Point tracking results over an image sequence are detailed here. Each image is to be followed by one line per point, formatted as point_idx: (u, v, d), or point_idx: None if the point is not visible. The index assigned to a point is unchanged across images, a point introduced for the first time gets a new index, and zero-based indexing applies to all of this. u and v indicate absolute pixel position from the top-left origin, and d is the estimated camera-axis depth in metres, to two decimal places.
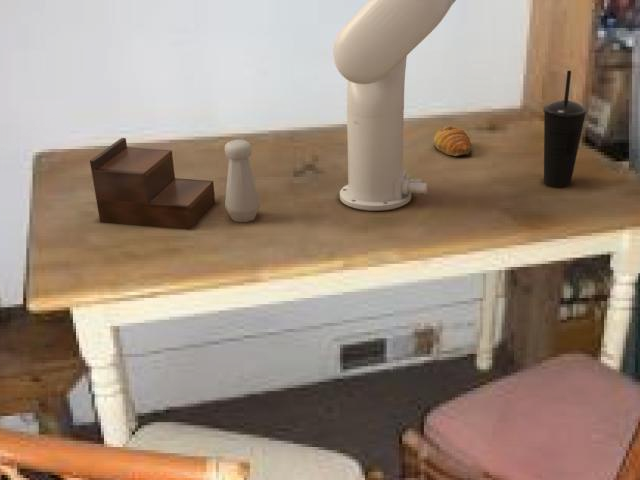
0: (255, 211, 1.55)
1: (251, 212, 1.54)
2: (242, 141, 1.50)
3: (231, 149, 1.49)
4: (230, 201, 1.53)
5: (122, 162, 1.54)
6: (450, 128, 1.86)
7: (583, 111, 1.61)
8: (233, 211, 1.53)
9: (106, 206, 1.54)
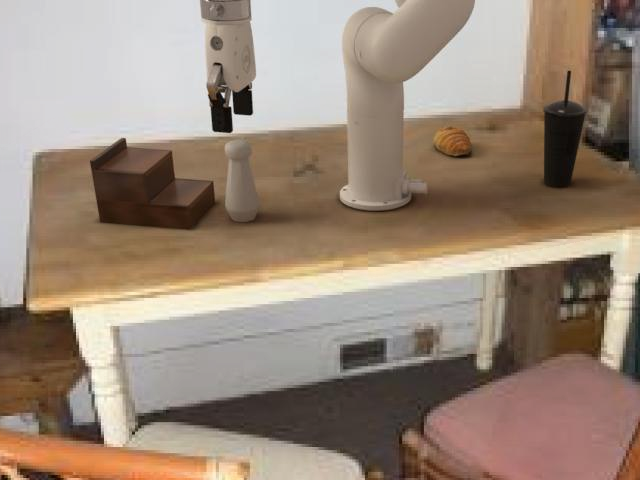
0: (255, 211, 1.55)
1: (251, 212, 1.54)
2: (242, 141, 1.50)
3: (231, 149, 1.49)
4: (230, 201, 1.53)
5: (122, 162, 1.54)
6: (450, 128, 1.86)
7: (583, 111, 1.61)
8: (233, 211, 1.53)
9: (106, 206, 1.54)
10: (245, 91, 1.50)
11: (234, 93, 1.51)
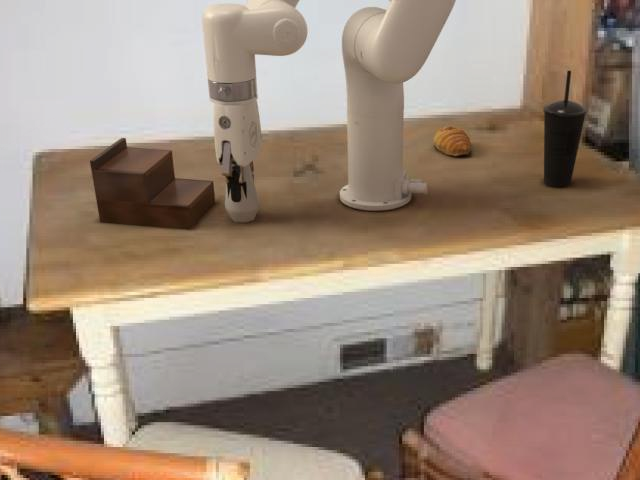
0: (255, 211, 1.55)
1: (251, 212, 1.54)
2: None
3: None
4: (230, 201, 1.53)
5: (122, 162, 1.54)
6: (450, 128, 1.86)
7: (583, 111, 1.61)
8: (233, 212, 1.53)
9: (106, 206, 1.54)
10: None
11: None
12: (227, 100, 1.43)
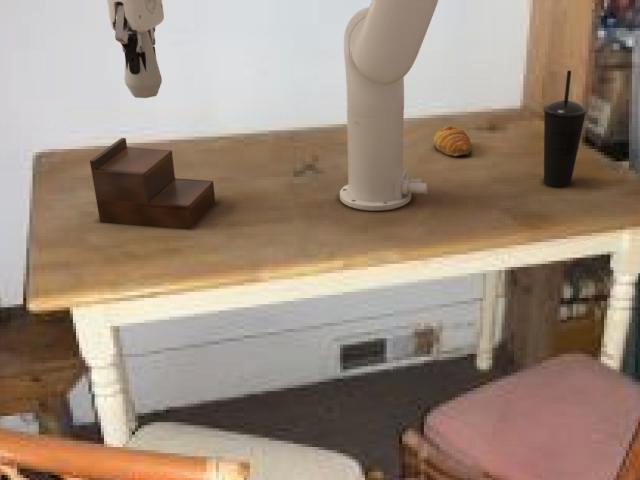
0: (156, 86, 1.46)
1: (151, 86, 1.46)
2: None
3: None
4: (128, 74, 1.45)
5: (122, 162, 1.54)
6: (450, 128, 1.86)
7: (583, 111, 1.61)
8: (132, 85, 1.45)
9: (106, 206, 1.54)
10: None
11: None
12: None
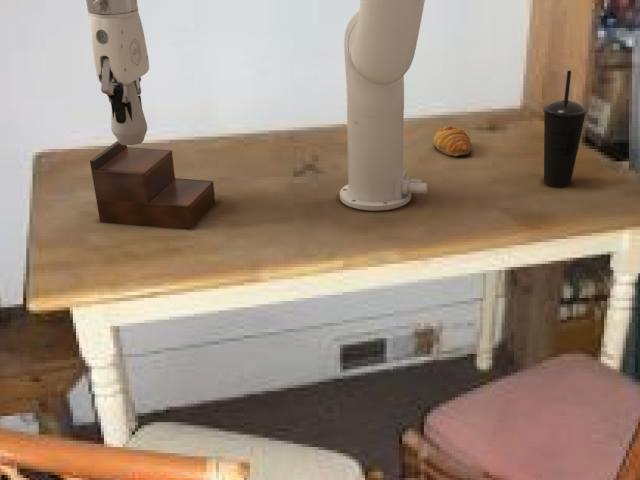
0: (142, 134, 1.51)
1: (137, 134, 1.50)
2: None
3: None
4: (114, 123, 1.49)
5: (122, 162, 1.54)
6: (450, 128, 1.86)
7: (583, 111, 1.61)
8: (118, 133, 1.50)
9: (106, 206, 1.54)
10: None
11: None
12: (104, 13, 1.39)
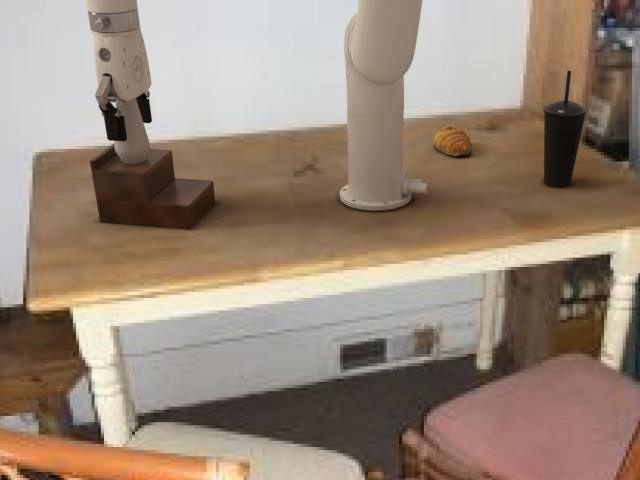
0: (144, 152, 1.53)
1: (140, 153, 1.52)
2: None
3: None
4: (117, 142, 1.51)
5: (122, 162, 1.54)
6: (450, 128, 1.86)
7: (583, 111, 1.61)
8: (121, 152, 1.52)
9: (106, 206, 1.54)
10: (142, 100, 1.54)
11: None
12: (106, 31, 1.41)
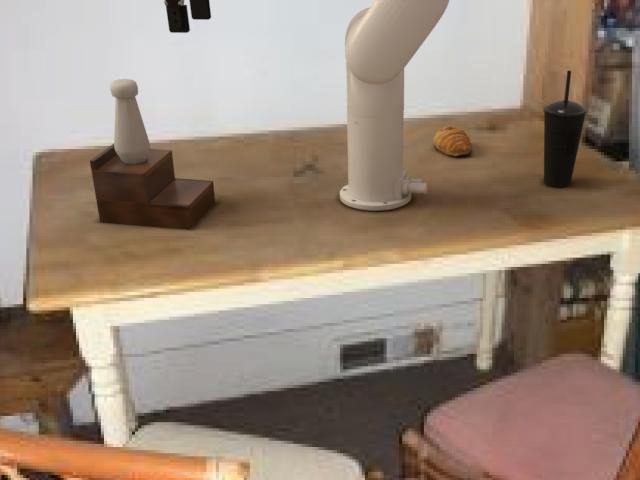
0: (144, 152, 1.53)
1: (140, 153, 1.52)
2: (128, 80, 1.48)
3: (116, 88, 1.47)
4: (117, 142, 1.51)
5: (122, 162, 1.54)
6: (450, 128, 1.86)
7: (583, 111, 1.61)
8: (121, 152, 1.52)
9: (106, 206, 1.54)
10: None
11: None
12: None
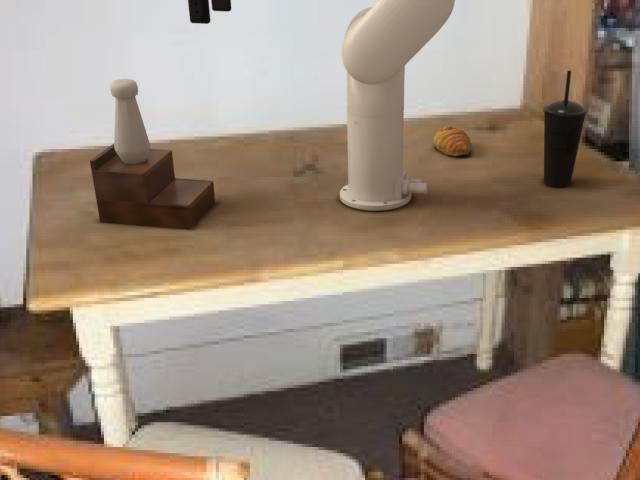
0: (144, 152, 1.53)
1: (140, 153, 1.52)
2: (128, 80, 1.48)
3: (116, 88, 1.47)
4: (117, 142, 1.51)
5: (122, 162, 1.54)
6: (450, 128, 1.86)
7: (583, 111, 1.61)
8: (121, 152, 1.52)
9: (106, 206, 1.54)
10: None
11: None
12: None
